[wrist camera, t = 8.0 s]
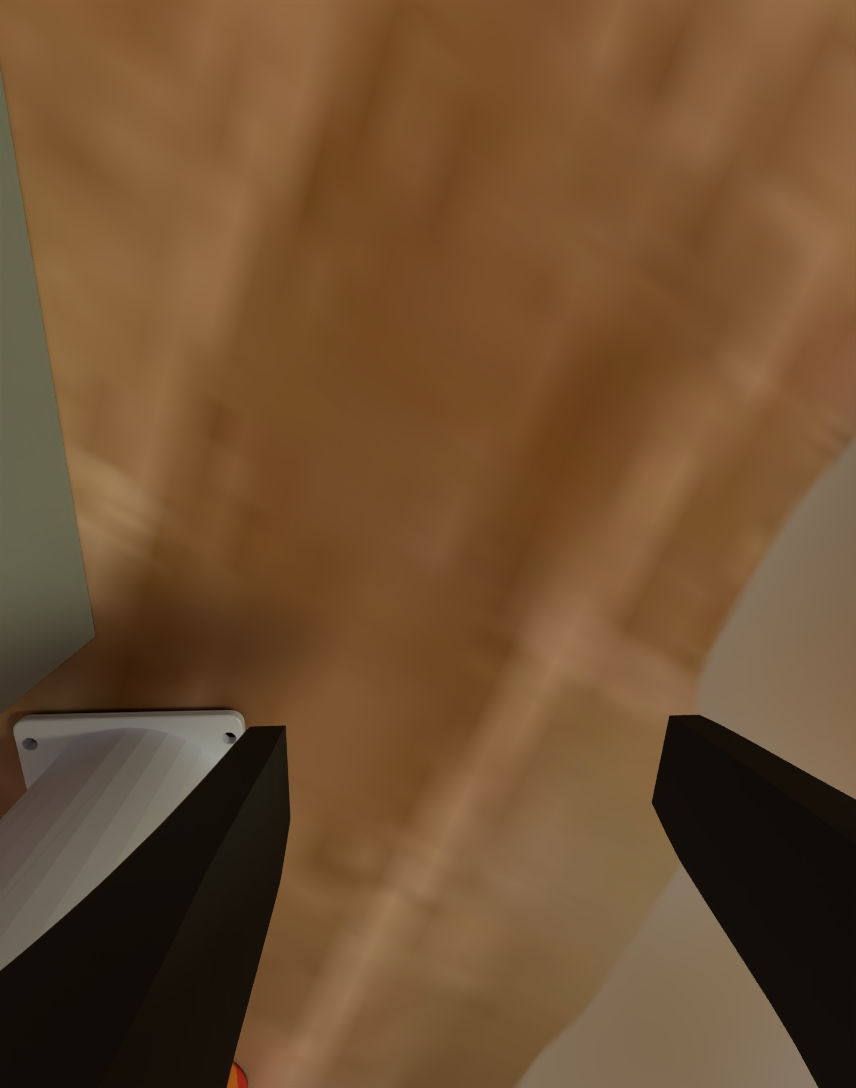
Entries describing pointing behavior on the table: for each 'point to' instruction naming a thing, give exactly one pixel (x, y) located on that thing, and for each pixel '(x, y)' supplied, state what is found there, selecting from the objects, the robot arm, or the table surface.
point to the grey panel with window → (31, 472)
